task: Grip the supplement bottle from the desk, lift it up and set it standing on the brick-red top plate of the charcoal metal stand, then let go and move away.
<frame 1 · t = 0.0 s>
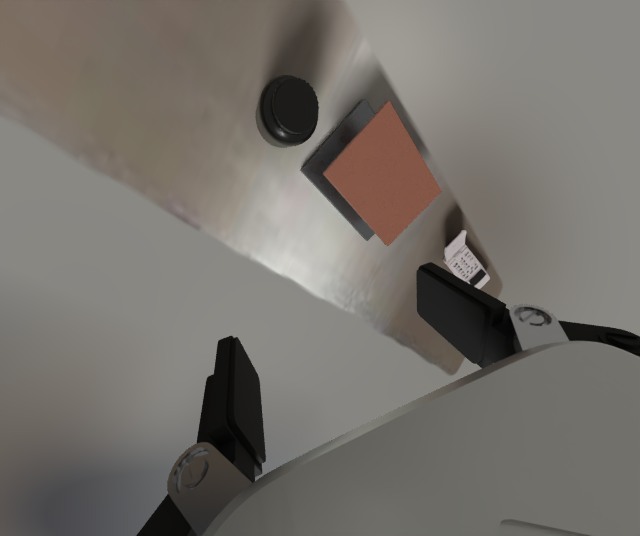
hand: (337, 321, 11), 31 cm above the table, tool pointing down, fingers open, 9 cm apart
mobile phone: (456, 261, 57), on the table
stand: (363, 178, 41), on the table
supplement bottle: (279, 121, 34), on the table
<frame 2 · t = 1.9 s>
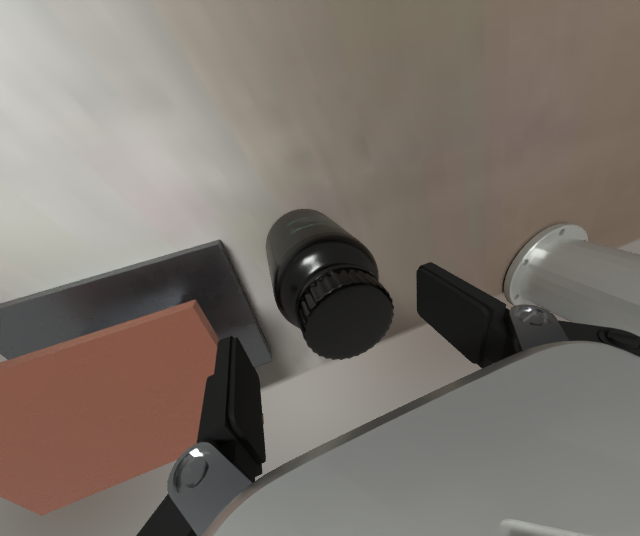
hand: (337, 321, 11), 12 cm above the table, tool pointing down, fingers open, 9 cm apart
stand: (154, 336, 22), on the table
supplement bottle: (302, 243, 22), on the table
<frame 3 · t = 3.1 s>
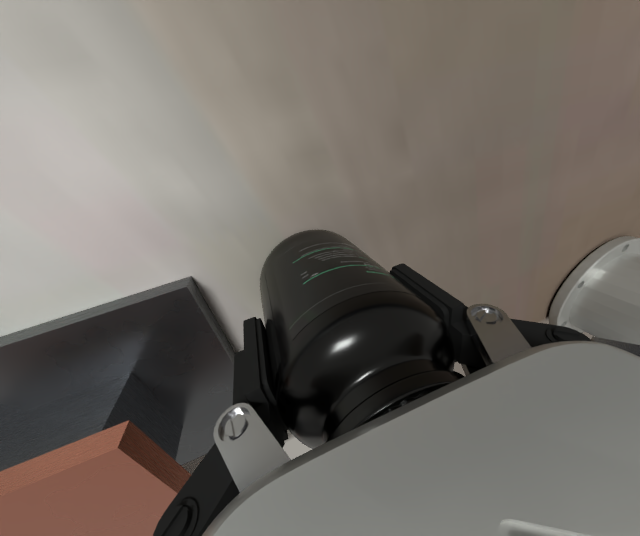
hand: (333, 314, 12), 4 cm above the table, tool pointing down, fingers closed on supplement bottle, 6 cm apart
stand: (101, 410, 15), on the table
supplement bottle: (310, 275, 16), on the table, touching gripper
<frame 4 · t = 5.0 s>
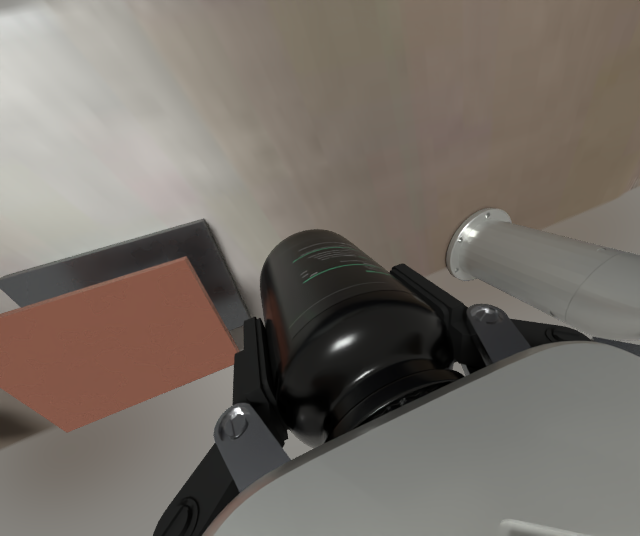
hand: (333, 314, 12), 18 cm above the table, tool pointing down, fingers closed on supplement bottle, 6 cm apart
stand: (151, 300, 26), on the table
supplement bottle: (310, 275, 16), point 14 cm above the table, touching gripper
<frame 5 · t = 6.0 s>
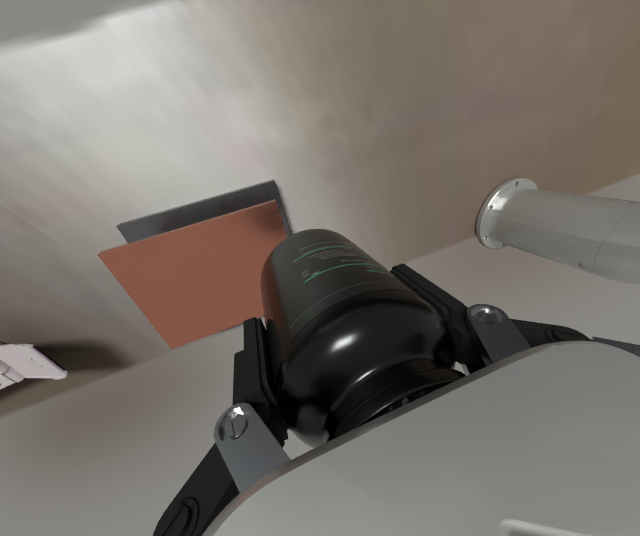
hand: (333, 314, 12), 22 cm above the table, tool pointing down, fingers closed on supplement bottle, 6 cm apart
stand: (225, 252, 31), on the table
supplement bottle: (311, 274, 16), point 18 cm above the table, touching gripper
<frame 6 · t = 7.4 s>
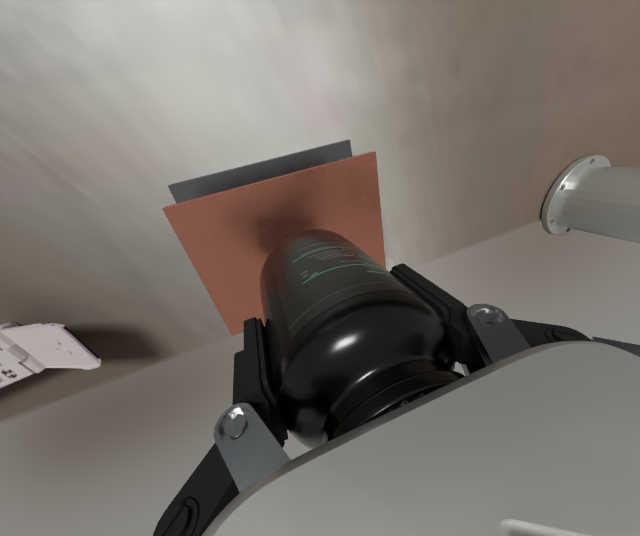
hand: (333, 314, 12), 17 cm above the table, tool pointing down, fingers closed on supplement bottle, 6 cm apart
stand: (283, 226, 27), on the table
supplement bottle: (310, 275, 16), point 13 cm above the table, touching gripper
when the fingers open (14 cm above the table, at t = 8.6 s): supplement bottle drops 1 cm, resting on stand.
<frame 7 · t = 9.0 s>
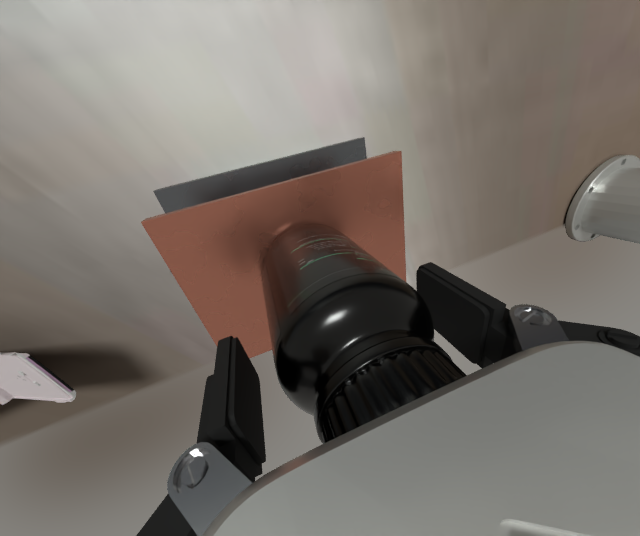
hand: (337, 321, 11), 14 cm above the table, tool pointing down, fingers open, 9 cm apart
stand: (287, 235, 24), on the table
supplement bottle: (308, 267, 17), point 8 cm above the table, touching stand
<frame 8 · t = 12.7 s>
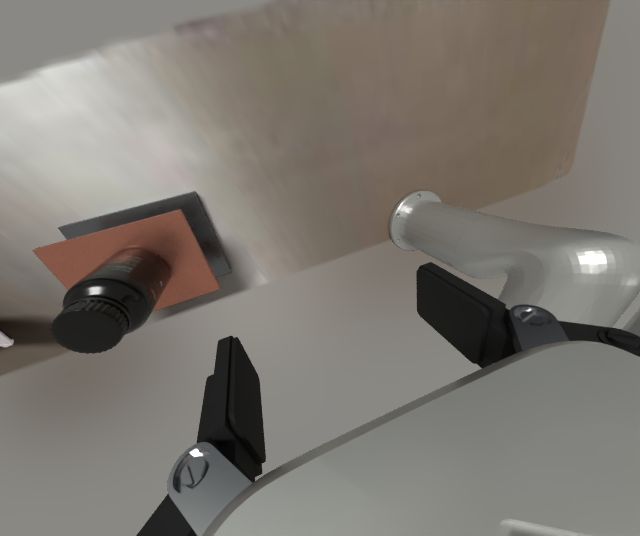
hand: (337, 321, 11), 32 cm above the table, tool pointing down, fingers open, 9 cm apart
stand: (158, 250, 37), on the table
supplement bottle: (140, 271, 30), point 8 cm above the table, touching stand
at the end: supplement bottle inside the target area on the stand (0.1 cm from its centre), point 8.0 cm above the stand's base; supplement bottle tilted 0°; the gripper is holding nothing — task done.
